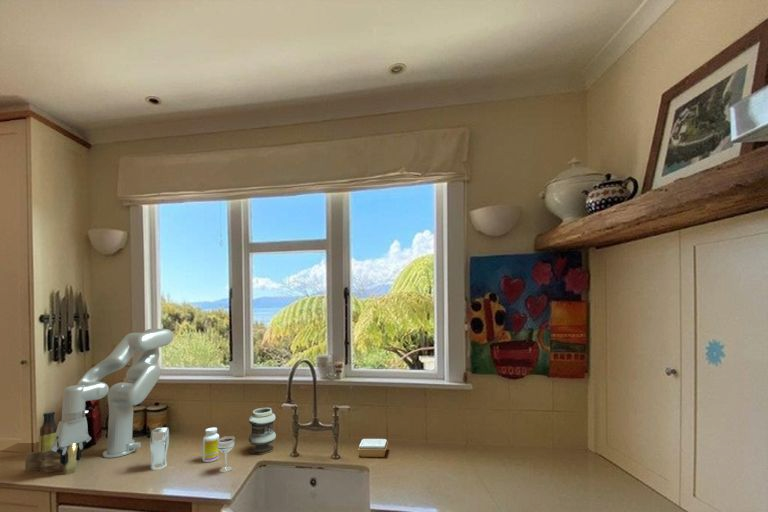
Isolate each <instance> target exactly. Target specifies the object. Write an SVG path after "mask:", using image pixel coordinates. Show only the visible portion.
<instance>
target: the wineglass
mask: <svg viewBox="0 0 768 512" xmlns="http://www.w3.org/2000/svg"><path fill="white" fill-rule="evenodd" d="M235 439H236V437H235V436H233V435H229V436H227V435H226V436H222V437H219V439H218V445H217V447H218V450H219V452H221V453H223V454H224V465H225V466H224V467H221V468H219V470H218V471H219V472H220V473H227V472H229V471H231V470H232V469H233V468H232V467H231V466H227V459H228V453H229V452H230V451H232V450H233V449H234V448H235V445H236V442H235Z"/></svg>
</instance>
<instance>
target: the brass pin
mask: <svg viewBox="0 0 768 512" xmlns="http://www.w3.org/2000/svg"><path fill="white" fill-rule="evenodd" d="M77 448H78V443H76V444H75V443H73V444H72V445H70V446H67V450H66V454H67V464H66V465H64V471H63V475H65V474H67V475H71V473H72V474H74V473H76V472H77V463H78V462H77V461H78V460H77Z"/></svg>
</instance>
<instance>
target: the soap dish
mask: <svg viewBox="0 0 768 512" xmlns="http://www.w3.org/2000/svg"><path fill="white" fill-rule="evenodd" d="M388 445H389V441H388V440H387V439H385V438H363V439H362V440H361V441H360V443H359V446H358V449H357V451H358V454H359V455H360V458H363V457H364V458H366V457H367V458H368V457H369V458H371V457H372V458H373V457H374V458H384V457H385V456H386V455H385V454H386V452H387V448H388Z"/></svg>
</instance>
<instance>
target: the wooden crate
mask: <svg viewBox="0 0 768 512" xmlns="http://www.w3.org/2000/svg"><path fill="white" fill-rule="evenodd" d="M57 448H58V449H60V447H59V446H57ZM25 456H26V457H25V465H24V467H25V469H24V470H25V472H26V471H27V472H28V471H29V472H30V471H38V470H40V472H39V473H42V474H43V473H51V472H53V473H54V472H55V473H56V472H64V465H63V464H61V463H60V454H59V453H58V452H55V451H52V450H49V451H44V452H39V451H34V452H27V453H26V455H25Z"/></svg>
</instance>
